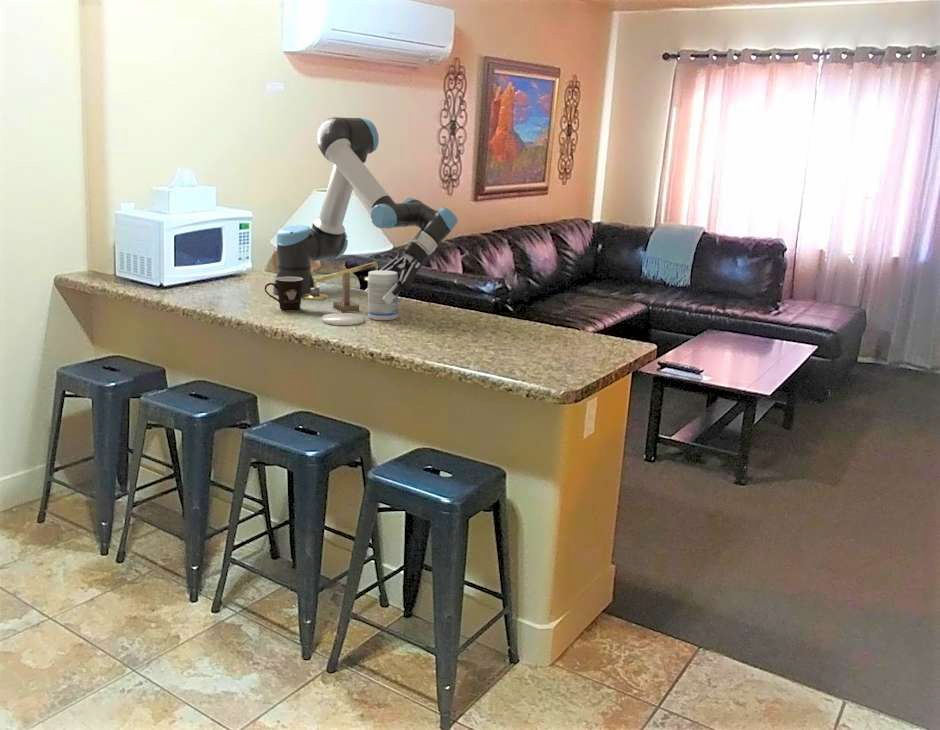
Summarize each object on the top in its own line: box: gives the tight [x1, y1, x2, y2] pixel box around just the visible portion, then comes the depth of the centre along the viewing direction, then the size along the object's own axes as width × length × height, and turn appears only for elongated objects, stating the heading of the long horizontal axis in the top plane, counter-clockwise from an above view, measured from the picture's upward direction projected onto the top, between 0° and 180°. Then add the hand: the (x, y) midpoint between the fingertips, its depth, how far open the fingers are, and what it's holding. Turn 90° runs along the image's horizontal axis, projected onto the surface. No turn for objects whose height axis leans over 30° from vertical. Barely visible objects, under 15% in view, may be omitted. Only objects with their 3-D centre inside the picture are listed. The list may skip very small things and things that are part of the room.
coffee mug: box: [264, 277, 303, 312], centre depth 292 cm, size 12×9×10 cm
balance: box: [301, 261, 379, 313], centre depth 293 cm, size 8×30×15 cm, turn 120°
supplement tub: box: [367, 269, 399, 321], centre depth 283 cm, size 10×10×15 cm
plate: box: [321, 312, 365, 326], centre depth 278 cm, size 13×13×1 cm
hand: (376, 297), depth 282 cm, fingers open, 13 cm apart
